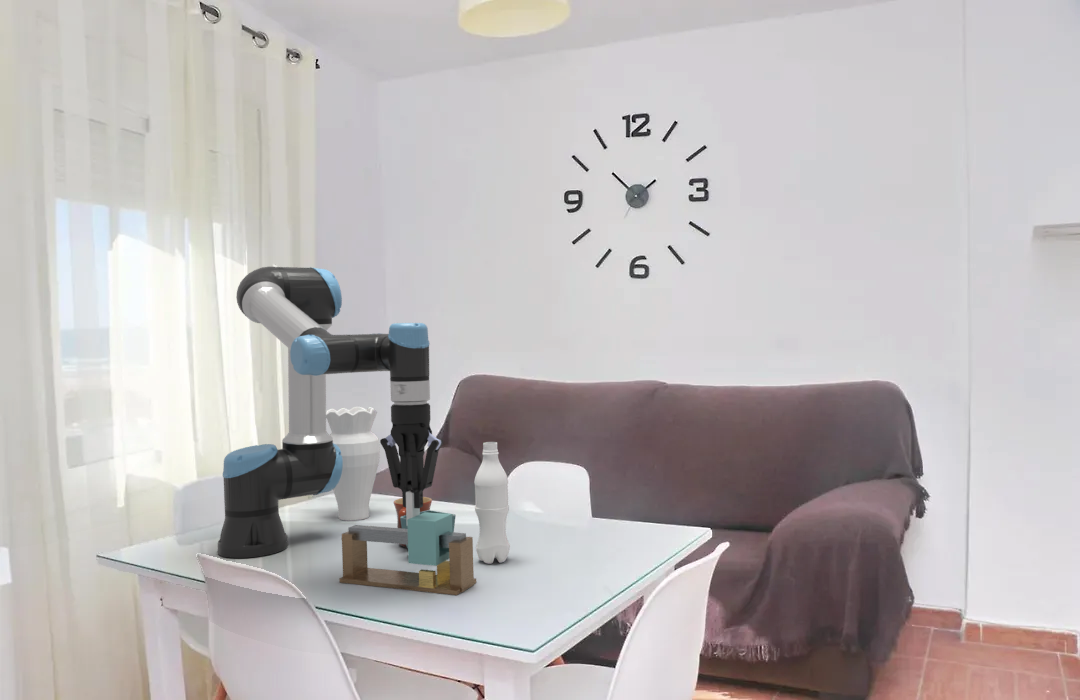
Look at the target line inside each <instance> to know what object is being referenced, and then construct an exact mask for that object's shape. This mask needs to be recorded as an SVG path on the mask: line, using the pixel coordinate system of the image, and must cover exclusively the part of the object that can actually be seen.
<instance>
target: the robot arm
mask: <svg viewBox="0 0 1080 700" xmlns="http://www.w3.org/2000/svg"><path fill="white" fill-rule="evenodd" d="M342 301H343V298H342V291H341V287H340V284H339V281H338V279H337V278H336V276H335V275H334V273H332V272H331V271H330V270H328V269H327V268H326V269H325V268H317V267H311V266H310V267H298V266H297V267H292V266H291V267H289V266H286V267H285V266H284V267H283V266H263V267H260V268H259V267H258V268H256V269H254V270H252V271H251V272H249V273H247V274H246V275H245V276H244V278H243V279H241V281H240V283H238V286H237V289H236V303H237V305H238V308H239V309H240V311H241V313H242V314H243V315H244V316H245V317H247V319H249V321H252V322H254V323H256V324H261V325H262V326H263V327H264V328H265V329H266V330H268V331H269V332H270V333H271V334H272V335H273V336H274V337H276V338H277V339H278V340H279V341H280V342H281V343H283V345H284V346H285V347H286V348H287V363H288V364H287V367H288V375H287V376H288V377H287V378H288V379H287V380H288V381H287V382H288V433H287V434H286V435H285V437H283V438H282V440H281V441H282V442H281V443H282V446H281V447H282V448H280V449H279V448H277V446H276V445H275V444H272V443H271V444H270V443H268V444H267V443H265V444H259V445H258V444H255V445H251V446H246V447H243V448H238V449H236V450H233V451H231V452H229V453H228V454H227V455H225V456H224V459H223V467H222V468H223V472H222V478H223V496H224V498H223V499H224V501H223V502H224V522H223V524H222V527H221V528H222V529H221V532H220V537H219V540H218V542H217V554H218V555H219V556H220V557H223V558H231V559H242V558H243V559H245V558H247V559H248V558H257V557H263V556H268V555H269V556H270V555H271V554H272V555H273V554H276V553H280V552H282V551H284V550H286V549H287V548H288V545H289V543H288V542H289V541H288V540H289V539H288V535H287V533H286V531H285V528H284V525H283V523H282V519H281V516H280V511H279V501H280V500H281V501H282V500H286V499H293V498H300V497H307V496H319V494H325V493H328V492H331V491H332V490H333V489H334V488H335V487H336V485H337V484H338V482H339V480H340V478H341V474H342V468H343V459H342V456H341V450H340V448H339V447H338V446H337V445H336V444H334V443H333V438H332V437H331V436H330V434H329V433H328V432H327V418H326V411H327V375H335V374H336V375H337V374H349V373H351V374H352V373H353V374H354V373H371V372H389V380H390V383H389V384H390V385H389V387H390V401H391V402H392V403H393V404H391V406H390V422H391V423H392V426H391V429H390V434H389V435H388V436H386V437H384V438H383V437H382V438H381V439H380V440H379V444H380V445H381V447H382V448H383V450H384V452H385V457H386V461H387V466H388V471H389V474H390V480H391V483H392V486H393V487H394V488H397V489H399V490H401V493H402V498H403V507H405V508H406V522H407V519H410V518H412V517H415V516H417V515H420V508H421V507H422V506H423V497H424V490H426V489H429V488H431V487H432V486H433V482H434V476H435V471H436V466H437V462H438V461H437V460H438V456H439V451H440V449H441V448H442V445H443V444H444V440H443V439H442V438H438V437H436V436H435V435H433V431H432V429H431V425H430V423H431V405H430V403H428V401H430V400H431V389H430V388H431V387H430V386H431V385H430V345H431V344H430V340H429V330H428V326H427V324H426V323H423V322H397V323H395V322H394V323H391V324H390V326H389V329H388V333H367V334H363V333H362V334H332V333H330V332H329V331H328V330H329V329H330V328H331V327H332V326H333V318H335V317H337V316H338V315H339V314H340V312H341V308H342V304H343V303H342ZM426 445H427V447H428V448H427V450H426V454H425V448H426ZM397 447H398V448H397ZM424 455H425V460H424Z"/></svg>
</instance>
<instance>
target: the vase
mask: <svg viewBox="0 0 1080 700" xmlns="http://www.w3.org/2000/svg"><path fill="white" fill-rule="evenodd" d="M377 413H378V411H377V410H376V409H375V408H373V406H372V407H371V406H369V407H368V408H367V409H366V408H364V407H362V406H353V407H352V408H350V409H348V408H345V407H342V408H340V409H338V410H337V409H335V408H329V409H326V421H327V423H328V426H329V429H330V431H331V433H330V434H329V435H330V436H331V437H332V438H333V443H334V444H336V445H337V446H338V447H339V448H340V450H341V456H342V459H343V468H342V474H341V478H340V480H339V482H338V484H337V485H336V487H335V488H334V489H333V494H334V497H335V500H336V503H337V504H336V505H337V509H338V511H337V513H338V516H337V517H338V519H339V520H340V521H345V522H346V521H347V522H351V521H352V522H355V521H361V520H366V519H368V518H369V517H370V501H371V496H372V493H373V488H374V485H375V480H376V477H377V471H378V468H379V465H380V456H381V455H380V453H381V447H380V440H379V438H378V436H377V434H375V433H374V432H373V431H372V427H373V424H374V421H375V419H376V416H377Z"/></svg>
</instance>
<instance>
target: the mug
mask: <svg viewBox="0 0 1080 700" xmlns="http://www.w3.org/2000/svg"><path fill="white" fill-rule="evenodd" d="M432 502H433V499H432V498H431V497H428V496H423V506H422V507H421V508H420V512H423V511H428V510H431V506H432ZM393 504H394V505H393V506H394V508H395V511H396V516H397V518H396V519H397V521H396V523H397V524H396V525H397V527H396V528H402V526H401V520H400V517H402V516H406V508H405V507H403V498H397V499H395V500H394V501H393ZM399 546H401V547H402V548H405V549H408V548H407V546H406V544H399Z"/></svg>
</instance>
